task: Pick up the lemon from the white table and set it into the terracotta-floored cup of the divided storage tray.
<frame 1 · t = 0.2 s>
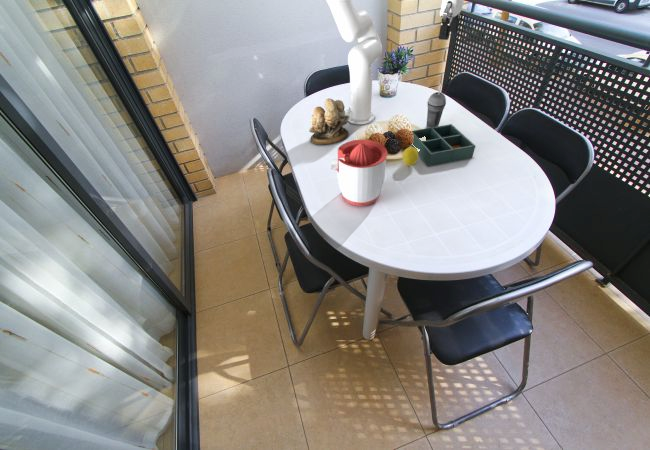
hand: (447, 35, 108), 37 cm above the table, tool pointing down, fingers open, 9 cm apart
beverage cup: (431, 129, 136), on the table
citrus juicer: (358, 196, 108), on the table
divided storage tray: (439, 150, 124), on the table
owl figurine: (330, 137, 137), on the table
lemon: (409, 166, 118), on the table
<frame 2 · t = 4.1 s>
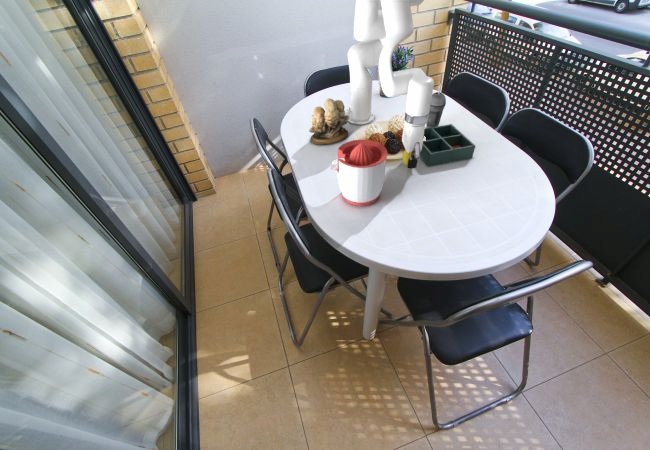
hand: (409, 162, 117), 2 cm above the table, tool pointing down, fingers closed on lemon, 5 cm apart
lemon: (409, 166, 118), on the table, touching gripper
everything else where it was.
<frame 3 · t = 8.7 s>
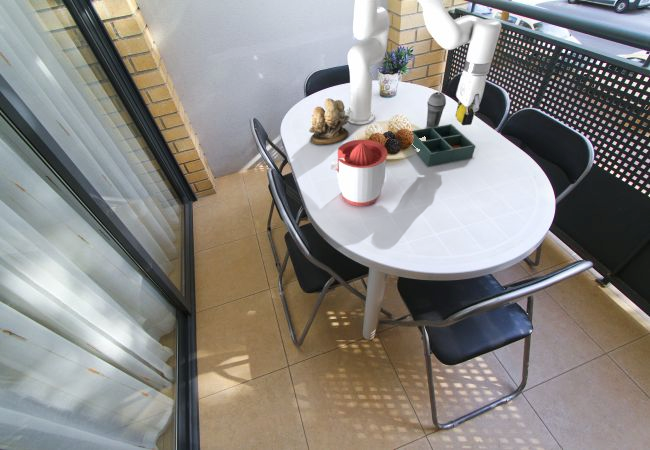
hand: (463, 119, 112), 14 cm above the table, tool pointing down, fingers closed on lemon, 5 cm apart
lemon: (462, 124, 113), point 12 cm above the table, touching gripper
everything else where it was.
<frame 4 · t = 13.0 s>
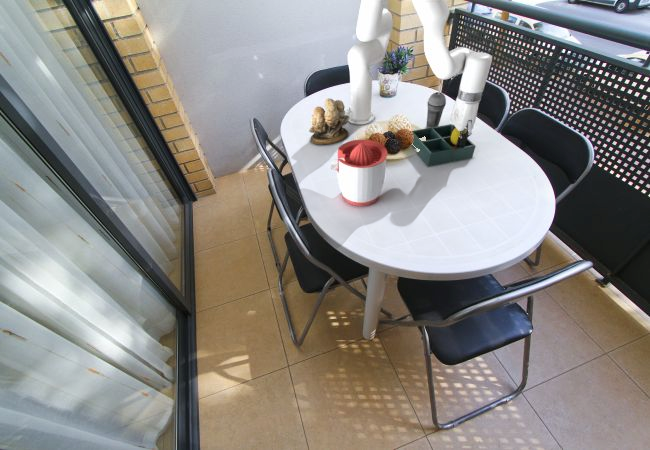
hand: (457, 142, 118), 5 cm above the table, tool pointing down, fingers closed on lemon, 5 cm apart
lemon: (456, 146, 119), point 3 cm above the table, touching gripper
everything else where it was.
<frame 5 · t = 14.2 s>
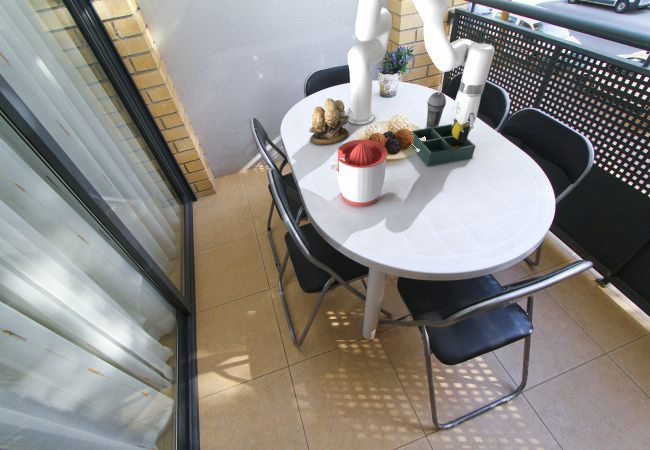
hand: (458, 136, 117), 8 cm above the table, tool pointing down, fingers closed on lemon, 5 cm apart
lemon: (457, 140, 118), point 6 cm above the table, touching gripper
everything else where it was.
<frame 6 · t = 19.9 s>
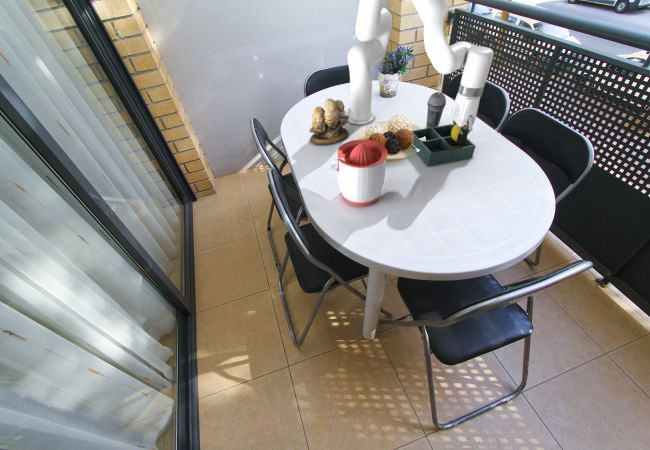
hand: (457, 138, 117), 7 cm above the table, tool pointing down, fingers closed on lemon, 5 cm apart
lemon: (456, 142, 119), point 5 cm above the table, touching gripper
everything else where it was.
when the fingers open (8 cm above the table, at t = 24.3 s): lemon drops 5 cm, resting on divided storage tray.
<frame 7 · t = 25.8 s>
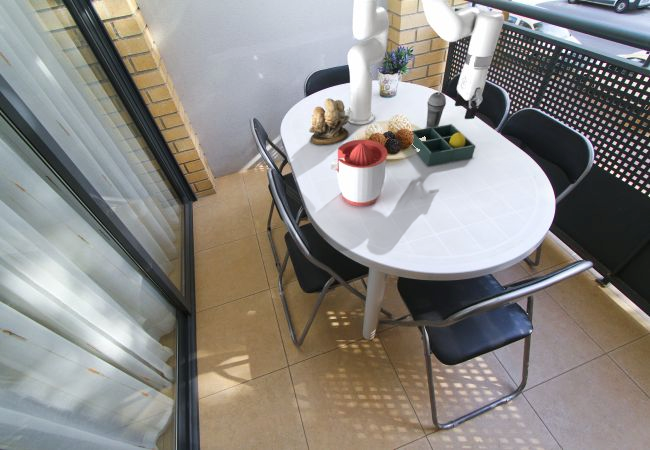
hand: (463, 112, 110), 17 cm above the table, tool pointing down, fingers open, 9 cm apart
lemon: (454, 152, 121), point 1 cm above the table, touching divided storage tray
everything else where it was.
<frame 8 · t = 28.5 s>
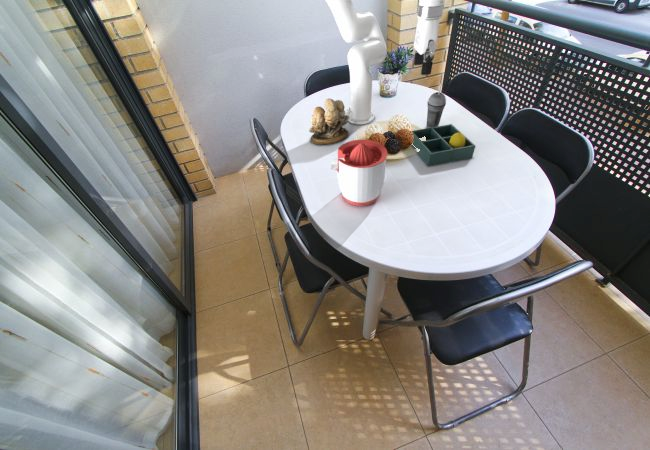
hand: (421, 69, 110), 28 cm above the table, tool pointing down, fingers open, 9 cm apart
nothing on the table moved.
at the end: lemon 0.1 cm from the target spot in the divided storage tray, point 0.8 cm above the divided storage tray's base; the gripper is holding nothing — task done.
